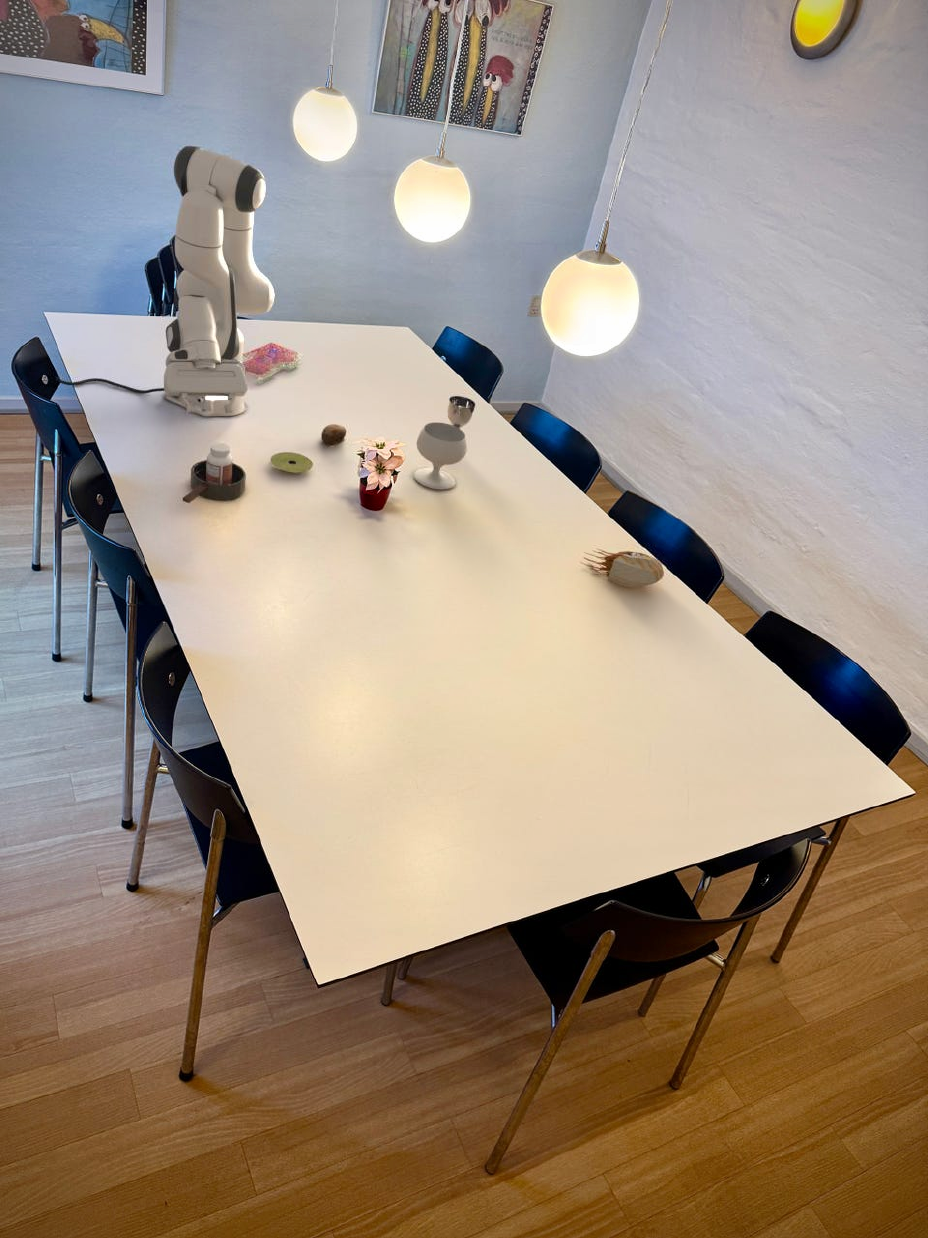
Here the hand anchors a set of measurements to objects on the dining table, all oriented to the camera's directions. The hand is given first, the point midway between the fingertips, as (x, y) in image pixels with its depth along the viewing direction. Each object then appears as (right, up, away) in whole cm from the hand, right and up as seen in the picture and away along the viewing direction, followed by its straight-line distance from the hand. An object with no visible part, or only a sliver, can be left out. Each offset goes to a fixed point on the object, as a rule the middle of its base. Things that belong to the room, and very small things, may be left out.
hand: (209, 412), depth 221 cm
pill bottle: (+2, -18, +2) cm, 18 cm away
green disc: (+17, -11, +18) cm, 27 cm away
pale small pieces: (+38, -18, +17) cm, 45 cm away
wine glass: (+60, +1, +50) cm, 78 cm away
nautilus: (+104, -41, +9) cm, 112 cm away
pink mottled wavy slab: (-1, +30, +68) cm, 75 cm away
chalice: (+55, -12, +31) cm, 64 cm away
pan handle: (-1, -22, -9) cm, 23 cm away
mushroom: (+25, -1, +35) cm, 43 cm away
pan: (+1, -19, +2) cm, 19 cm away
